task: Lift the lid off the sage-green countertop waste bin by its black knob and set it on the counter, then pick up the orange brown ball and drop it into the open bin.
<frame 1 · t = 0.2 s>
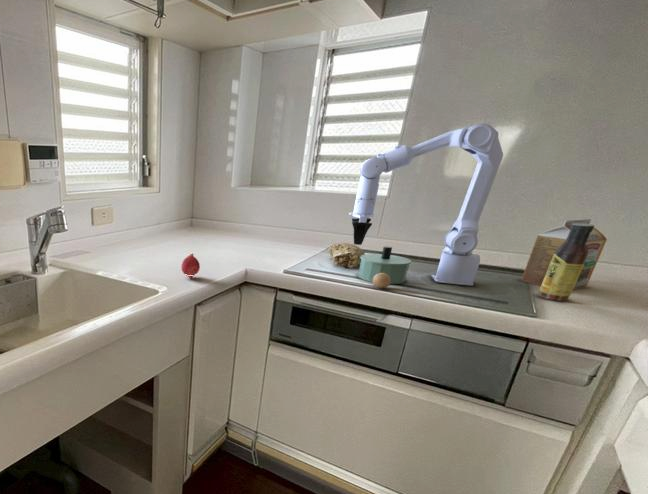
hand: (357, 242, 132), 10 cm above the countertop, tool pointing down, fingers open, 7 cm apart
tan brown irregular lump: (343, 262, 148), on the countertop
bin lid: (384, 260, 126), point 6 cm above the countertop, touching waste bin
onion: (190, 278, 130), on the countertop
orange brown ball: (379, 288, 119), on the countertop
sauce bottle: (552, 299, 109), on the countertop
milk carton: (552, 284, 122), on the countertop
waste bin: (380, 278, 128), on the countertop
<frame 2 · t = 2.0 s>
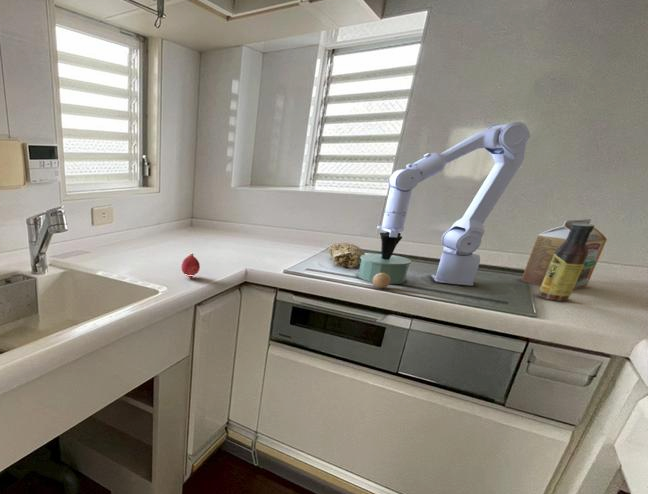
hand: (385, 256, 126), 7 cm above the countertop, tool pointing down, fingers closed on bin lid, 2 cm apart
bin lid: (384, 260, 126), point 6 cm above the countertop, touching gripper, waste bin
everything else where it was.
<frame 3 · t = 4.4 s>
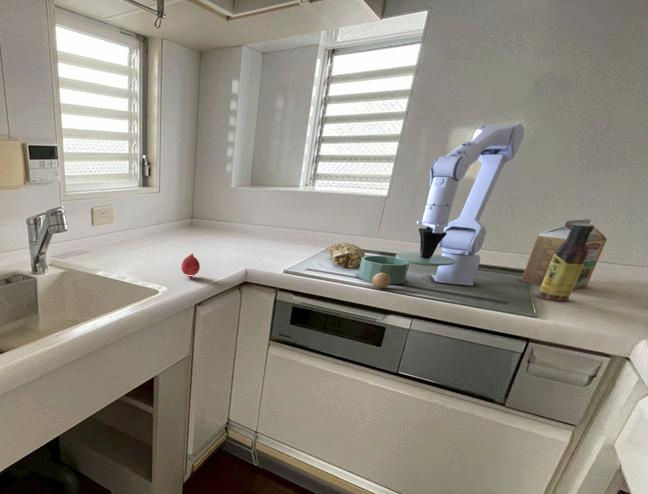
hand: (425, 255, 111), 10 cm above the countertop, tool pointing down, fingers closed on bin lid, 2 cm apart
bin lid: (424, 259, 112), point 9 cm above the countertop, touching gripper
everything else where it was.
when the fingers open (2 cm above the countertop, at t = 7.0 s): bin lid stays where it is, point 1 cm above the countertop.
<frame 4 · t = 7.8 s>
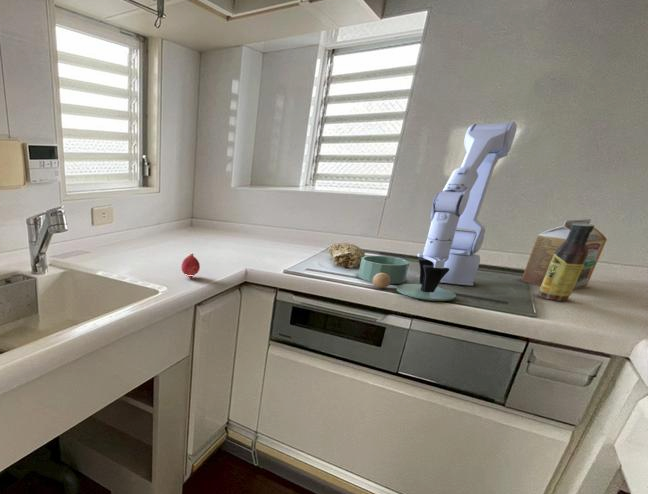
hand: (426, 287, 112), 2 cm above the countertop, tool pointing down, fingers open, 7 cm apart
bin lid: (424, 292, 112), point 1 cm above the countertop
everything else where it was.
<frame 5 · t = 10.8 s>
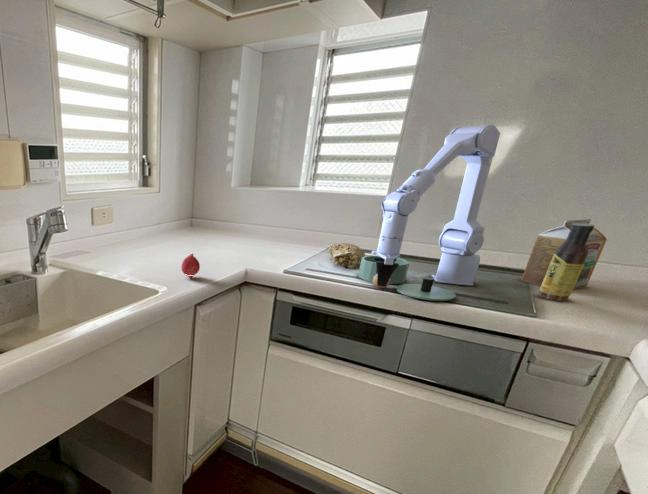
hand: (380, 283, 118), 1 cm above the countertop, tool pointing down, fingers closed on orange brown ball, 4 cm apart
orange brown ball: (379, 288, 119), on the countertop, touching gripper
everything else where it was.
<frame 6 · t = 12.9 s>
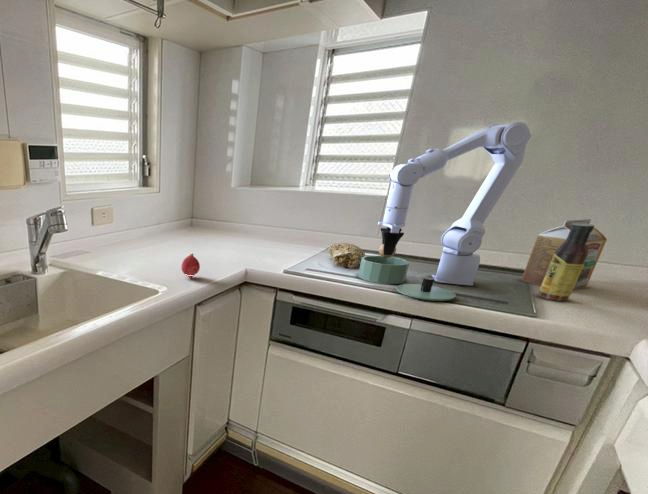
hand: (386, 253, 124), 8 cm above the countertop, tool pointing down, fingers closed on orange brown ball, 4 cm apart
orange brown ball: (385, 257, 124), point 7 cm above the countertop, touching gripper
everything else where it was.
when the fingers open (3 cm above the countertop, at t = 15.1 s): orange brown ball drops 2 cm, resting on waste bin.
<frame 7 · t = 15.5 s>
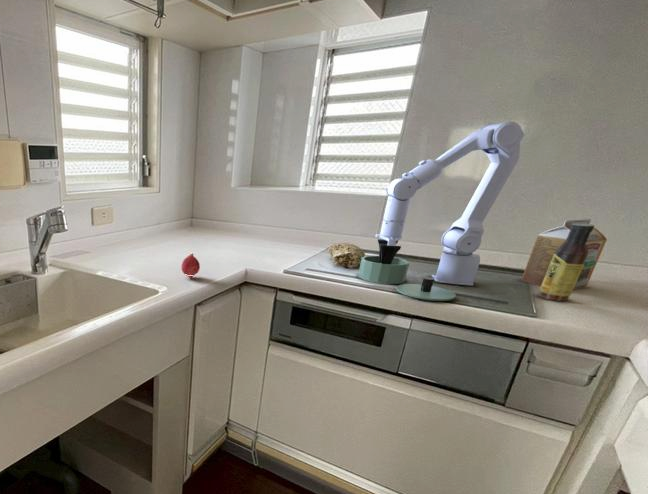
hand: (383, 264, 127), 4 cm above the countertop, tool pointing down, fingers open, 7 cm apart
orange brown ball: (380, 277, 128), resting on waste bin
everything else where it was.
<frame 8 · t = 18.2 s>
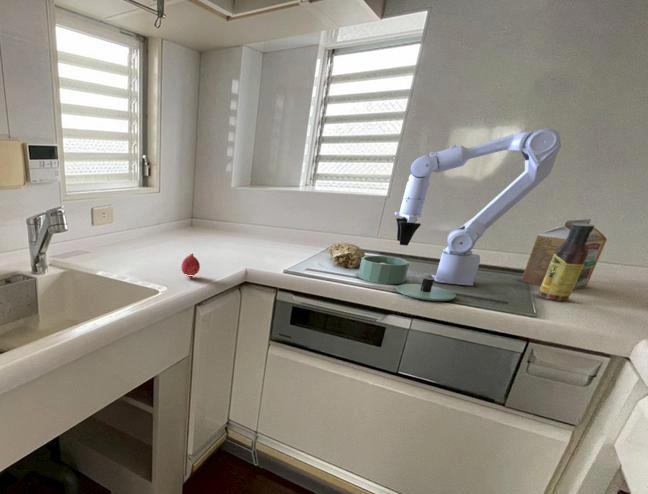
hand: (402, 242, 128), 10 cm above the countertop, tool pointing down, fingers open, 7 cm apart
nothing on the countertop moved.
at the end: bin lid point 0.6 cm above the countertop; bin lid inside the target area (0.1 cm from its centre), point 0.6 cm above the countertop; orange brown ball inside the target area in the waste bin (0.0 cm from its centre), point 0.4 cm above the waste bin's base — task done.
